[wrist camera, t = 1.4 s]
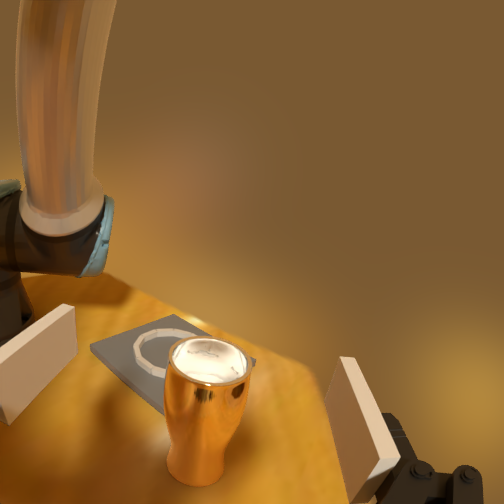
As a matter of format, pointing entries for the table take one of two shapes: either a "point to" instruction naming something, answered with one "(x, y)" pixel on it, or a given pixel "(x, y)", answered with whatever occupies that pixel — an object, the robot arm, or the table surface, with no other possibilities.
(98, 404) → the table surface
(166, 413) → the beer glass
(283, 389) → the table surface
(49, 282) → the table surface
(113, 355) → the coaster board
